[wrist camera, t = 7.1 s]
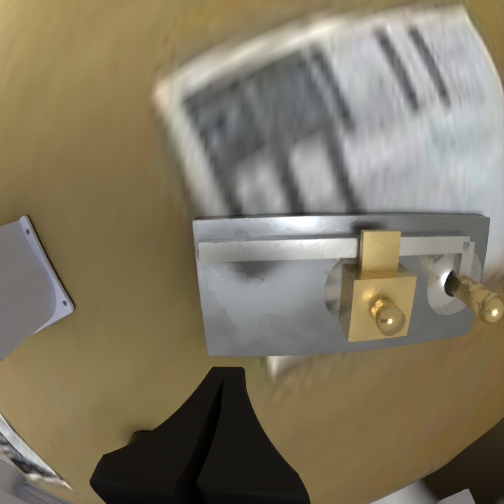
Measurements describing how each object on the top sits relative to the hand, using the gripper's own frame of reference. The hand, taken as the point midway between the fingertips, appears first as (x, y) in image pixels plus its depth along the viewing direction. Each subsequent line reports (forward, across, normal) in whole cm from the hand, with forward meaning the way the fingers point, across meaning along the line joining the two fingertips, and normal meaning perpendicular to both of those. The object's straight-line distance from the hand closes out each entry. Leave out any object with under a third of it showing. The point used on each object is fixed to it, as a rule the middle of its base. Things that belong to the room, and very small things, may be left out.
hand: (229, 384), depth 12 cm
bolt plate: (+9, -8, -1) cm, 12 cm away
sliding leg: (+8, -8, -2) cm, 12 cm away
